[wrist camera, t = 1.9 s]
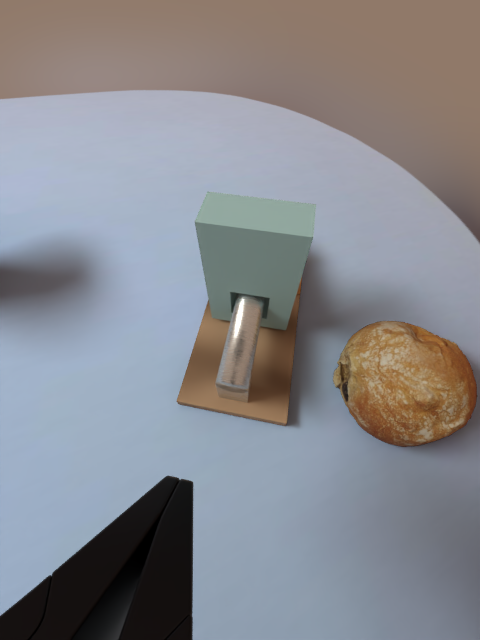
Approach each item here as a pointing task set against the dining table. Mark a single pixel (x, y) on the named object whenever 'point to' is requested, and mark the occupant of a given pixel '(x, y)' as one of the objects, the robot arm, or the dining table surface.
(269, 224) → the sage green slotted block
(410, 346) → the bread roll
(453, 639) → the dining table surface
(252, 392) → the walnut board
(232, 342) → the grey metal pipe
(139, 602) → the robot arm
